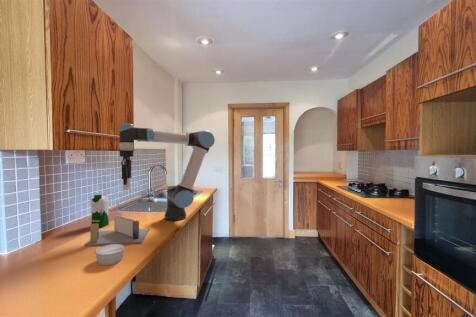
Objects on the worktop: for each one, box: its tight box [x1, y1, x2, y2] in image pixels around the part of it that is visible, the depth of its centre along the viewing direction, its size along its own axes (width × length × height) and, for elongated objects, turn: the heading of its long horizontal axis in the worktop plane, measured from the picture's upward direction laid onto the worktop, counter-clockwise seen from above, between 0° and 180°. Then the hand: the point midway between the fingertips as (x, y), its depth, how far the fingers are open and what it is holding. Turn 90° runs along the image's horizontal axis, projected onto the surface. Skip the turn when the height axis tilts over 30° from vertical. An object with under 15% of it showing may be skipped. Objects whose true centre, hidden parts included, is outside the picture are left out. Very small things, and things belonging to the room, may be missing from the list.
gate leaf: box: [113, 214, 135, 237], centre depth 136 cm, size 18×2×9 cm, turn 55°
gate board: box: [83, 228, 150, 247], centre depth 133 cm, size 27×21×1 cm
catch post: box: [89, 223, 100, 243], centre depth 124 cm, size 3×2×10 cm
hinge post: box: [133, 220, 140, 239], centre depth 130 cm, size 3×3×10 cm
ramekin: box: [94, 244, 125, 266], centre depth 106 cm, size 11×11×5 cm
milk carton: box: [89, 194, 110, 229], centre depth 154 cm, size 9×9×20 cm
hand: (126, 189), depth 145 cm, fingers open, 4 cm apart
